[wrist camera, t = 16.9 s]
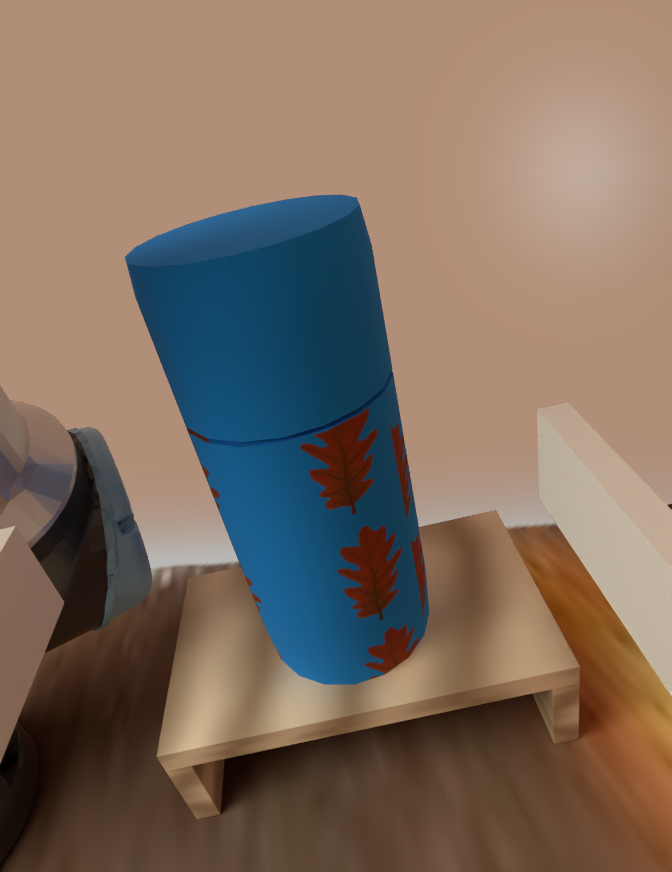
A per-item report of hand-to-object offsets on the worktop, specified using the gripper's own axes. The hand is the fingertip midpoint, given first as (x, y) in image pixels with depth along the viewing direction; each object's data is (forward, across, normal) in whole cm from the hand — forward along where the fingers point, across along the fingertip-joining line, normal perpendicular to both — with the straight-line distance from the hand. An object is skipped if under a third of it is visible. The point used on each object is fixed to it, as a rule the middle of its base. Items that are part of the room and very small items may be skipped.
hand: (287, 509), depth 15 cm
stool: (+15, 0, -28) cm, 31 cm away
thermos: (+15, 0, -21) cm, 26 cm away
